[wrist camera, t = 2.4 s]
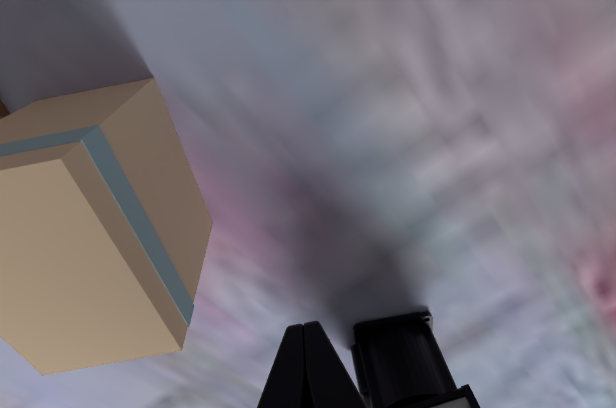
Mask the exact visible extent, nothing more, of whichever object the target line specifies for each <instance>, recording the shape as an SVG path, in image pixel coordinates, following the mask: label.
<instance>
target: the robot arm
mask: <svg viewBox="0 0 616 408" xmlns="http://www.w3.org/2000/svg"><path fill="white" fill-rule="evenodd" d="M432 327H433V317H432V315H431V313H430V312H422V313H417V314H411V315H405V316H400V317H394V318H389V319H383V320H377V321H372V322H366V323H360V324H356V325H355V326H354V327H353V332H354V338H355V344H354V345H352V346H351V353H352V359H353V365H354V370H355V374H356V379H357V384H358V389H359V392H358V390H357V388H356V386H355V385H354V383H353V381H352V379H351V378H350V376H349V374H348V372H347V370H346V369H345V367H344V365H343V363H342V362H341V360H340V358H339V356H338V354H337V353H336V351H335V349H334V347H333V346H332V344H331V342H330V340H329V338H328V337H327V335H326V333H325V331H324V330H323V328H322V326H321V324H320V323H319V322H318V321H312V322H307V323H305V324H304V325H302V324H296V325H291V326H288V327H287V329H286V331H285V333H284V336H283V339H282V342H281V344H280V347H279V350H278V352H277V355H276V358H275V360H274V363H273V366H272V368H271V371H270V374H269V376H268V379H267V382H266V385H265V387H264V390H263V393H262V395H261V398H260V401H259V403H258V406H257V408H480V406H479V404H478V402H477V400H476V398H475V396H474V394H473V392H472V390H471V388H470V386H469V384H467V385H464V386H461V388H459V389H457V387H456V385H455V382H454V380H453V378H452V376H451V373H450V371H449V369H448V367H447V364H446V362H445V360H444V358H443V355H442V353H441V351H440V349H439V346H438V344H437V342H436V340H435V337H434V335H433V333H432Z"/></svg>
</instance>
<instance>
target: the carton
mask: <svg viewBox="0 0 616 408" xmlns="http://www.w3.org/2000/svg"><path fill="white" fill-rule="evenodd" d="M212 224H213V222H212V219H211V217H210V215H209V212H208V210H207V207H206V205H205V202H204V200H203V197H202V195H201V192H200V190H199V187H198V185H197V182H196V180H195V177H194V175H193V172H192V170H191V167H190V165H189V162H188V160H187V158H186V155H185V153H184V150H183V148H182V145H181V143H180V140H179V138H178V135H177V133H176V130H175V128H174V125H173V123H172V120H171V118H170V115H169V113H168V110H167V108H166V105H165V103H164V101H163V98H162V96H161V93H160V91H159V88H158V86H157V83H156V81H155V78H149V79H144V80H139V81H134V82H129V83H124V84H119V85H114V86H109V87H103V88H98V89H93V90H88V91H83V92H78V93H73V94H68V95H63V96H58V97H52V98H47V99H42V100H37V101H34V102H32V103H30V104H28V105H26V106H25V107H23V108H21V109H19V110H17V111H15V112H13V113H11V114H10V115H8V116H6V117H4V118H2V119H0V337H1V338H2V339H3V340H4V341H5V342H6V343H8V344H9V345H10V346H11V347H12V348H13V349H14V350H15V351H16V352H17V353H18V354H20V355H21V356H22V357H23V358H24V359H25V360H26V361H27V362H28V363H29V364H31V365H32V366H33V367H34V368H35V369H36V370H37V371H38V372H39V373H40V374H41V375H48V374H54V373H59V372H65V371H70V370H76V369H82V368H87V367H93V366H98V365H104V364H110V363H115V362H121V361H126V360H132V359H138V358H143V357H149V356H154V355H160V354H166V353H171V352H177V351H182V348H183V343H184V339H185V335H186V331H187V327H189V325H190V321H191V317H192V313H193V308H194V304H193V302H194V298H195V294H196V290H197V286H198V282H199V277H200V273H201V269H202V265H203V261H204V257H205V253H206V249H207V244H208V240H209V236H210V232H211V228H212Z"/></svg>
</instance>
